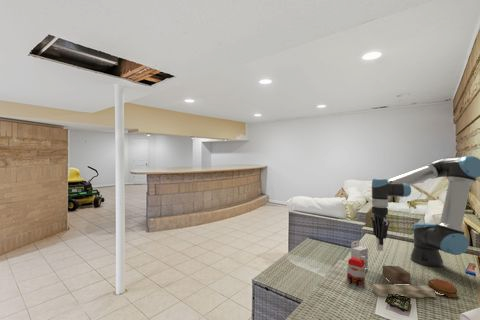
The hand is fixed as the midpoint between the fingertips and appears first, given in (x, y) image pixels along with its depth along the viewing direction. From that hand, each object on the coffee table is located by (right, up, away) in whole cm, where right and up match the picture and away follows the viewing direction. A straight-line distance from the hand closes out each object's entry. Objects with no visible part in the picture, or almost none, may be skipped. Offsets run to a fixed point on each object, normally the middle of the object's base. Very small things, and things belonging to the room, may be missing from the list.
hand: (379, 250), depth 121 cm
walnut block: (0, -10, -13) cm, 16 cm away
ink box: (-11, -11, +1) cm, 15 cm away
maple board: (-5, -9, -25) cm, 27 cm away
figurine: (-20, -10, -14) cm, 27 cm away
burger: (+14, -10, -22) cm, 28 cm away
